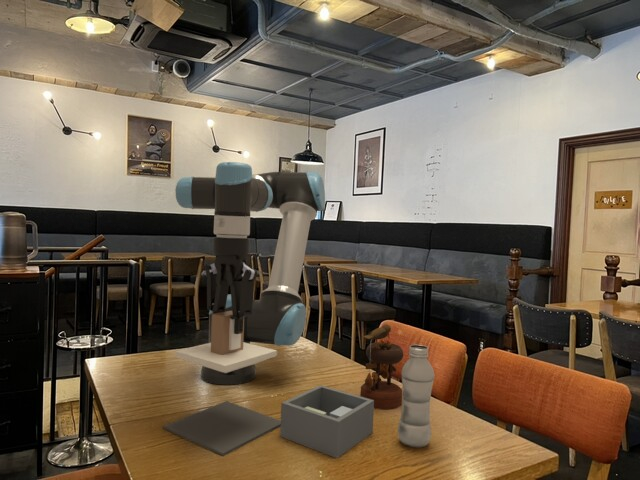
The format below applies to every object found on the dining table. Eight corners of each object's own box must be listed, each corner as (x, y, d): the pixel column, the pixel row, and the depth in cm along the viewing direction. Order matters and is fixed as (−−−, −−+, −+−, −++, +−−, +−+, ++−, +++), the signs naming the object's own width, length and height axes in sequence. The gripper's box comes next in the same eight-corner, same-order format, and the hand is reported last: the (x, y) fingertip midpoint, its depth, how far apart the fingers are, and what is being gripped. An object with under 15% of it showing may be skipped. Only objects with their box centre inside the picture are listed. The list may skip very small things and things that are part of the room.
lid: (174, 361, 96) (176, 312, 96) (227, 347, 108) (229, 304, 108) (225, 377, 87) (227, 324, 87) (276, 360, 100) (278, 313, 99)
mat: (162, 428, 96) (162, 425, 96) (226, 403, 111) (226, 401, 111) (222, 456, 86) (222, 453, 86) (284, 424, 101) (284, 421, 101)
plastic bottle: (393, 436, 97) (398, 342, 96) (425, 436, 97) (429, 343, 97) (401, 451, 90) (406, 351, 90) (435, 451, 91) (440, 351, 90)
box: (280, 436, 95) (281, 402, 95) (319, 414, 106) (320, 385, 106) (337, 458, 87) (338, 421, 87) (372, 432, 98) (374, 400, 98)
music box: (388, 415, 107) (386, 329, 108) (349, 407, 114) (346, 326, 114) (416, 397, 120) (413, 320, 120) (378, 390, 126) (376, 317, 127)
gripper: (191, 234, 99) (187, 343, 99) (247, 238, 89) (243, 358, 90) (217, 235, 105) (214, 337, 106) (273, 238, 95) (268, 350, 96)
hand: (227, 346), depth 98 cm, fingers closed on lid, 3 cm apart
